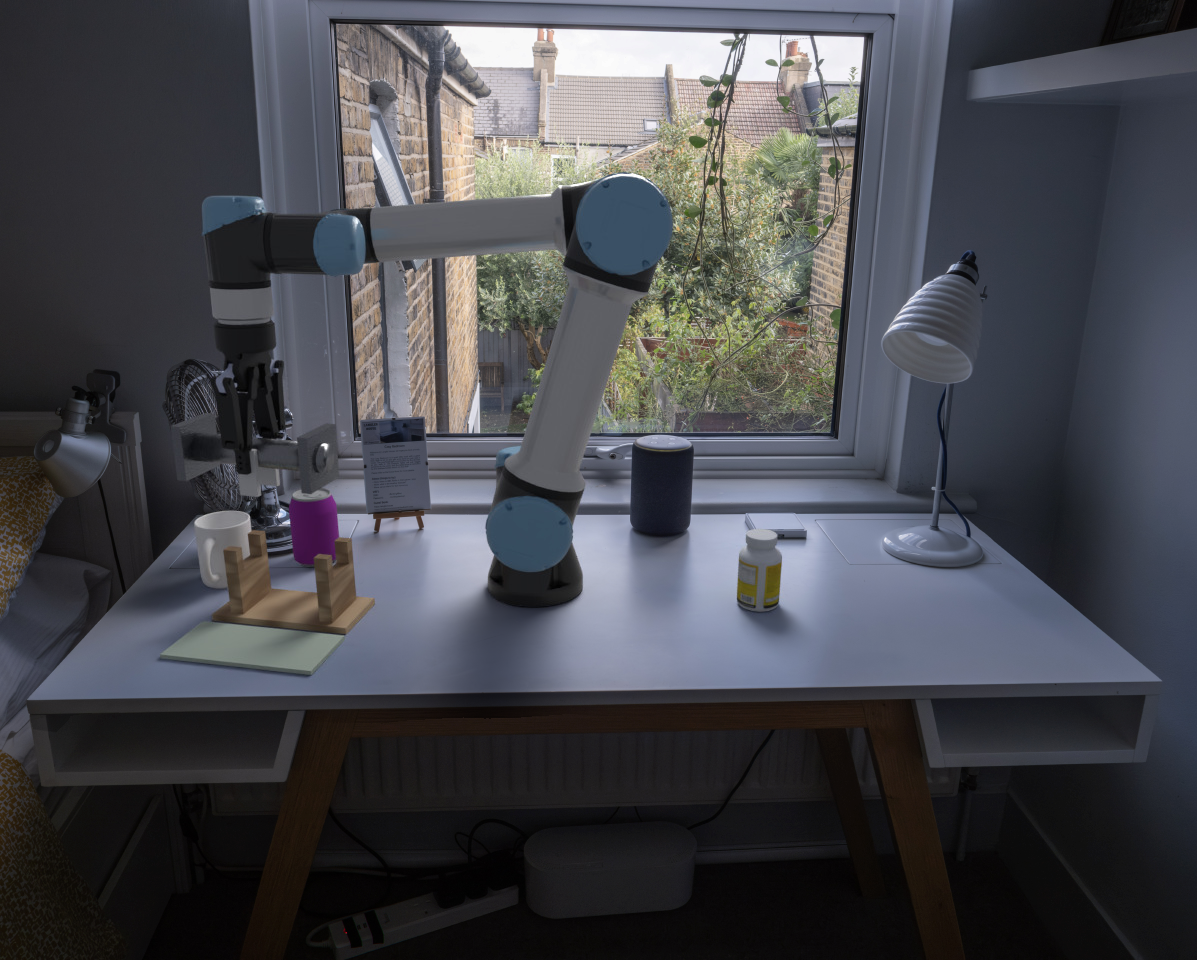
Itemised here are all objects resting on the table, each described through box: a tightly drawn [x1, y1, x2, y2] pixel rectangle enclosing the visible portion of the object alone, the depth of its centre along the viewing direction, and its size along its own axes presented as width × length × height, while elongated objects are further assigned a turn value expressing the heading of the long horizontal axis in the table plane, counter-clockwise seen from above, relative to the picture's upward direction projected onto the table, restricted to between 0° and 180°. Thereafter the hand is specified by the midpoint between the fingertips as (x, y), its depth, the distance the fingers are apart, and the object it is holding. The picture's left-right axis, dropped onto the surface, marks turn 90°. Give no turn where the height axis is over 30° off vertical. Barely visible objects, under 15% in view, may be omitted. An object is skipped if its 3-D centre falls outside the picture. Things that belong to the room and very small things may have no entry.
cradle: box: [211, 529, 376, 635], centre depth 137 cm, size 21×10×11 cm, turn 79°
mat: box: [159, 620, 346, 676], centre depth 128 cm, size 22×10×1 cm, turn 79°
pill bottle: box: [736, 528, 783, 613], centre depth 141 cm, size 6×6×12 cm
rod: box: [170, 412, 340, 494], centre depth 126 cm, size 21×8×8 cm, turn 77°
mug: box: [193, 510, 252, 590], centre depth 147 cm, size 12×8×10 cm
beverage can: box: [288, 487, 340, 568], centre depth 156 cm, size 8×8×12 cm
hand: (260, 489), depth 128 cm, fingers closed on rod, 4 cm apart
